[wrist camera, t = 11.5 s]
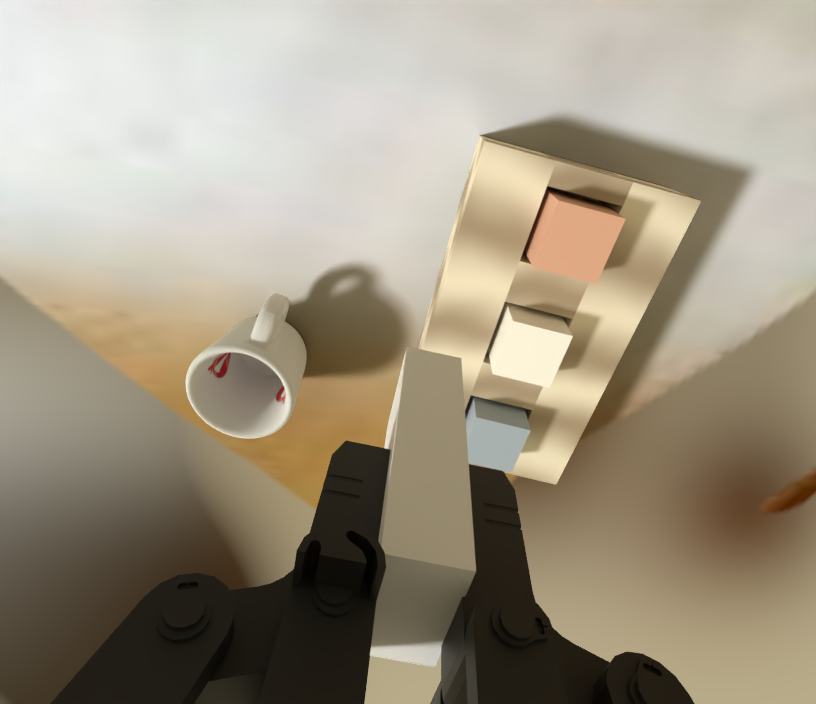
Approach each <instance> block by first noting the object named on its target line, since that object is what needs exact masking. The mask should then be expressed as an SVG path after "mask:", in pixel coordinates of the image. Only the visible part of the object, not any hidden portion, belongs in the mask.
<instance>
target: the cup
mask: <svg viewBox="0 0 816 704" xmlns="http://www.w3.org/2000/svg"><path fill="white" fill-rule="evenodd" d="M289 305H290V301H289V299H288V298H287V297H285V296H283V295H280V294H274V295H272V296H271V297H270V298H269V299H268V300H267V301H266V302H265V304H264V305H263V307H262V309H261V311H260V313H259V315H258V316H257V317H252V318H249V319H247V320H244V321H243V322H241V323H239V324H238V325H236V326H235V327H234V328H232V329H231V330H230V331H228V332H227V333H226V334H225V335H223V336H222V337H221V338H219V339H218V340H217V341H216V342H214V343H213V344H212V345H210V346H209V347H208V348H207V349H205V350H204V351H203V352H201V353H200V354H199V355H198V356H197V357H196V358H195V359H194V360H193V362H192V363H191V365H190V367H189V369H188V372H187V376H186V391H187V395H188V398H189V401H190V403H191V405H192V407H193V408H194V410H195V411H196V413H197V414H198V415H199V416H200V417H201V418H202V419H203V420H204V421H205V422H206V423H207V424H209V425H210V426H211V427H213V428H215V429H216V430H218V431H220V432H222V433H224V434H227V435H230V436H234V437H239V438H260V437H264V436H268V435H270V434H272V433H274V432H276V431H278V430H279V429H281V428H282V427H283V426H284V425H285V424H286V423H287V421H288V420H289V418H290V417H291V415H292V413H293V410H294V407H295V403H296V400H297V396H298V392H299V389H300V385H301V381H302V378H303V374H304V371H305V366H306V360H307V354H306V348H305V344H304V342H303V340H302V338H301V336H300V335H299V333H298V332H297V331H296V330H295V329H294V328H293V327H292V326H291V325H290V324H288V323H286V322H285V318H286V316H287V313H288V309H289Z"/></svg>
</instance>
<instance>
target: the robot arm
mask: <svg viewBox="0 0 816 704" xmlns="http://www.w3.org/2000/svg"><path fill="white" fill-rule="evenodd" d="M520 529H521V523H520V517H519V514H518V506H517V500H516V495H515V490H514V488H513V486H512V485H511V483H510V482H509V480H508V479H507V477H506V475H505V474H504V472H503V471H501V470H496V469H491V468H486V467H481V466H476V465H471V464H469V462H468V447H467V433H466V419H465V404H464V390H463V376H462V361H461V358H459V357H454V356H449V355H445V354H440V353H435V352H431V351H426V350H421V349H417V348H412V347H407V348H406V352H405V356H404V360H403V364H402V368H401V372H400V377H399V381H398V385H397V389H396V393H395V397H394V402H393V406H392V410H391V414H390V418H389V422H388V427H387V434H386V440H385V447H384V448H380V447H375V446H370V445H365V444H360V443H355V442H350V441H345V442H344V443H343V444H342V445H341V446H340V447H339V448H338V449H337V450H336V451H335V452H334V453H333V454H332V457H331V461H330V464H329V468H328V471H327V475H326V478H325V482H324V485H323V489H322V492H321V496H320V499H319V503H318V506H317V510H316V513H315V517H314V520H313V524H312V527H311V531H310V533H309V534H308V535H306V536H305V537H304V539H303V541H302V542H301V544H300V546H299V548H298V549H297V553H296V561H295V567H294V569H293V571H291V572H290V573H288V574H287V575H286V576H285V577H284V578H282V579H279V580H277V581H275V582H273V583H271V584H267V585H263V586H258V587H252V588H244V589H236V590H229V589H228V587H227V586H226V585H225V584H224V583H222V582H221V581H220V580H218V579H216V578H215V577H213V576H209V575H204V574H200V573H193V574H184V575H178V576H176V577H173V578H171V579H169V580H166V581H164V582H162V583H160V584H159V585H158V586H156V587H155V588H154V589H153V590H152V591H150V592H149V593H148V594H147V595H146V596H144V598H143V599H142V600H141V601H140V602H139V603H138V604H137V606H136V607H135V608H134V609H133V610H132V611H131V612H130V614H129V615H128V616H127V617H126V618H125V619H124V621H123V622H122V623H121V624H120V625H119V626H118V627H117V629H116V630H115V631H114V632H113V633H112V634H111V635H110V636H109V638H108V639H107V640H106V641H105V642H104V643H103V644H102V646H101V647H100V648H99V649H98V650H97V651H96V652H95V654H94V655H93V656H92V657H91V658H90V659H89V660H88V662H87V663H86V664H85V665H84V666H83V667H82V668H81V670H80V671H79V672H78V673H77V674H76V675H75V676H74V678H73V679H72V680H71V681H70V682H69V683H68V684H67V686H66V687H65V688H64V689H63V690H62V691H61V692H60V694H59V695H58V696H57V697H56V698H55V700H53V702H52V703H51V704H364V701H365V692H366V684H367V675H368V667H369V658H370V656H375V657H381V658H386V659H392V660H398V661H403V662H409V663H415V664H420V665H425V666H431V667H435V666H436V663H437V661H438V659H439V656H440V654H441V664H442V665H441V676H442V677H441V681H440V684H439V686H438V688H437V690H436V692H435V695H434V697H433V699H432V701H431V703H430V704H694V702H693V701H692V699H691V697H690V695H689V694H688V692H687V691H686V690H685V688H684V687H683V686H682V685H681V683H680V682H679V681H678V679H677V678H676V676H674V675H673V674H672V673H671V672H670V671H669V670H667V669H666V668H665V667H664V666H663V665H662V664H661V663H659V662H657V661H655V660H653V659H652V658H650V657H648V656H645V655H644V654H640V653H633V652H625V653H622V654H620V655H617V656H615V657H614V658H613V660H612V661H611V662H608V661H606V660H604V659H602V658H600V657H598V656H596V655H594V654H592V653H590V652H588V651H587V650H585V649H583V648H581V647H579V646H577V645H575V644H573V643H572V642H570V641H569V640H567V639H565V638H564V637H562V636H561V635H560V634H559V633H558V632H557V631H555V630H554V629H553V628H552V625H551V623H550V620H549V618H548V617H547V615H546V614H545V613H544V612H543V610H542V609H541V608H540V607H539V605H538V604H537V603H536V602H535V599H534V595H533V591H532V586H531V580H530V574H529V569H528V563H527V557H526V552H525V546H524V540H523V535H522V530H520Z"/></svg>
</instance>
